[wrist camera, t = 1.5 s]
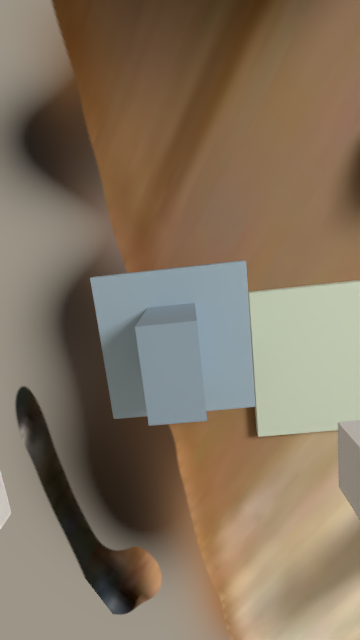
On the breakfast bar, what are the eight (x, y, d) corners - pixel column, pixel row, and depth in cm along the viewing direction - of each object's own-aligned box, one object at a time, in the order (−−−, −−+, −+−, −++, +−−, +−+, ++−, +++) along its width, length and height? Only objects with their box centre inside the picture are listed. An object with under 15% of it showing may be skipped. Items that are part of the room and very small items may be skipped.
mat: (247, 292, 34) (249, 293, 33) (386, 277, 33) (392, 278, 32) (256, 431, 37) (258, 436, 36) (383, 421, 36) (388, 425, 35)
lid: (94, 276, 29) (57, 287, 21) (243, 260, 28) (265, 265, 20) (116, 411, 31) (91, 469, 23) (252, 399, 31) (275, 454, 23)
